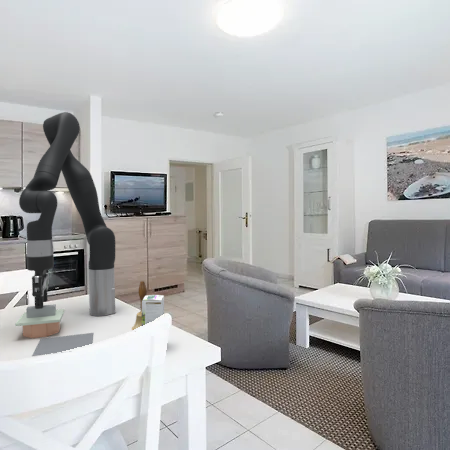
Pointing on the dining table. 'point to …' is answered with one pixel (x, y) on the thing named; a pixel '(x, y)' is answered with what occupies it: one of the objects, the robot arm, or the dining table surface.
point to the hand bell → (139, 315)
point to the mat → (62, 343)
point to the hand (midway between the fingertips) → (41, 304)
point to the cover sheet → (39, 319)
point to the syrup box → (152, 308)
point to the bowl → (41, 330)
